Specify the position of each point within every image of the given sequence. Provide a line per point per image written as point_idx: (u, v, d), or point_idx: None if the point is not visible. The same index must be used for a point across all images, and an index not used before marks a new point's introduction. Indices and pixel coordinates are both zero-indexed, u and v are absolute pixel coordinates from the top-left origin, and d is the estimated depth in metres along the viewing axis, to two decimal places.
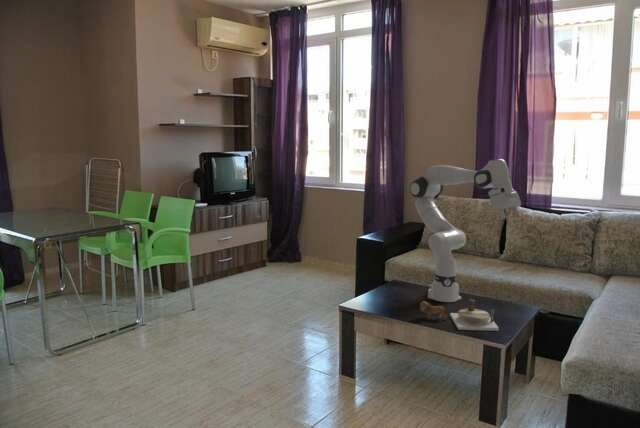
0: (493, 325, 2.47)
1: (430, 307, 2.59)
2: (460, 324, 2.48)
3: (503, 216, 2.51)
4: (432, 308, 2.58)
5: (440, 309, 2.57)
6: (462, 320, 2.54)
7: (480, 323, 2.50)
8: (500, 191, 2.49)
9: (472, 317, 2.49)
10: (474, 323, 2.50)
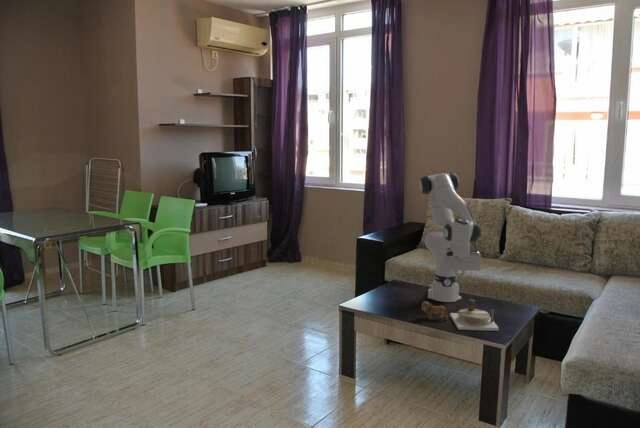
0: (493, 325, 2.47)
1: (431, 307, 2.58)
2: (460, 324, 2.48)
3: (456, 277, 2.57)
4: (433, 308, 2.58)
5: (441, 309, 2.57)
6: (462, 320, 2.54)
7: (480, 323, 2.50)
8: (446, 254, 2.52)
9: (472, 317, 2.49)
10: (474, 323, 2.50)
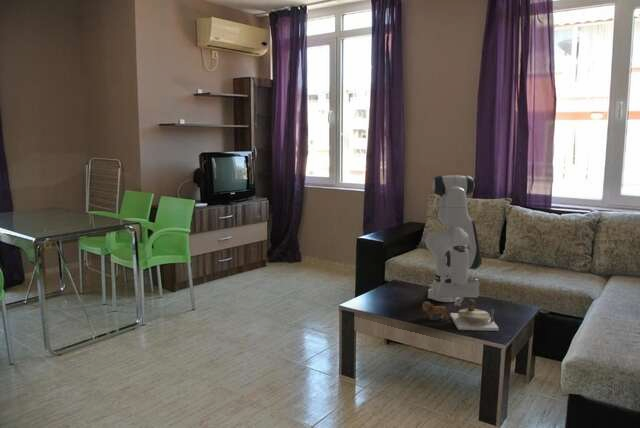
0: (493, 325, 2.47)
1: (432, 307, 2.58)
2: (460, 324, 2.48)
3: (454, 303, 2.58)
4: (434, 308, 2.58)
5: (442, 309, 2.57)
6: (462, 320, 2.54)
7: (480, 323, 2.50)
8: (444, 281, 2.54)
9: (472, 317, 2.49)
10: (474, 323, 2.50)
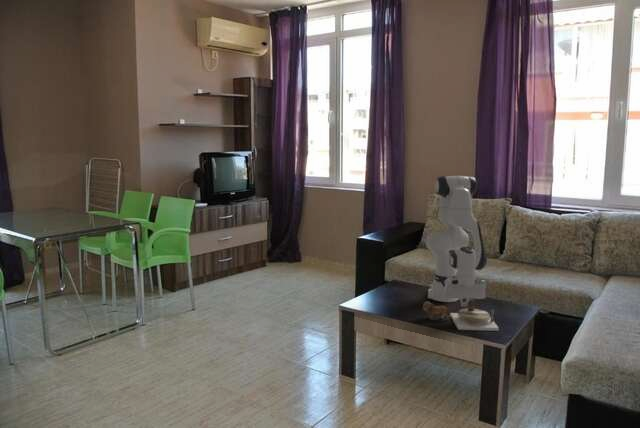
0: (493, 325, 2.47)
1: (433, 307, 2.58)
2: (460, 324, 2.48)
3: (461, 304, 2.59)
4: (435, 308, 2.58)
5: (443, 309, 2.57)
6: (462, 320, 2.54)
7: (480, 323, 2.50)
8: (451, 282, 2.54)
9: (472, 317, 2.49)
10: (474, 323, 2.50)
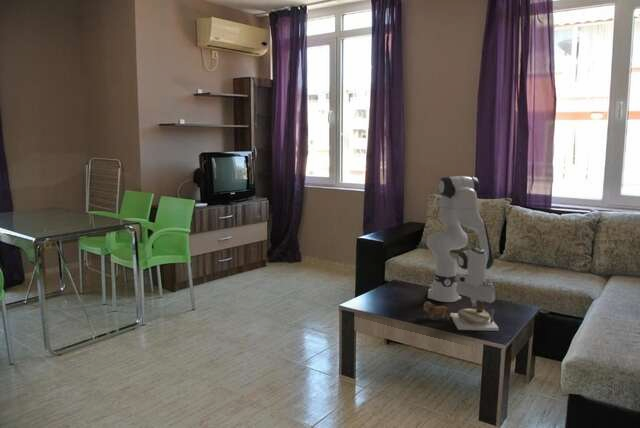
0: (493, 325, 2.47)
1: (433, 307, 2.58)
2: (460, 324, 2.48)
3: None
4: (435, 308, 2.58)
5: (443, 309, 2.57)
6: (462, 320, 2.54)
7: (480, 323, 2.50)
8: (459, 279, 2.61)
9: (465, 315, 2.52)
10: (474, 323, 2.50)
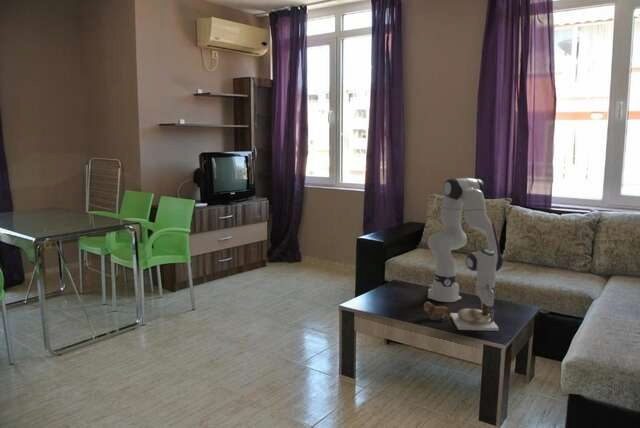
0: (493, 325, 2.47)
1: (433, 307, 2.58)
2: (460, 324, 2.48)
3: None
4: (435, 308, 2.58)
5: (443, 309, 2.57)
6: (462, 320, 2.54)
7: (480, 323, 2.50)
8: (475, 279, 2.62)
9: (463, 312, 2.56)
10: (474, 323, 2.50)
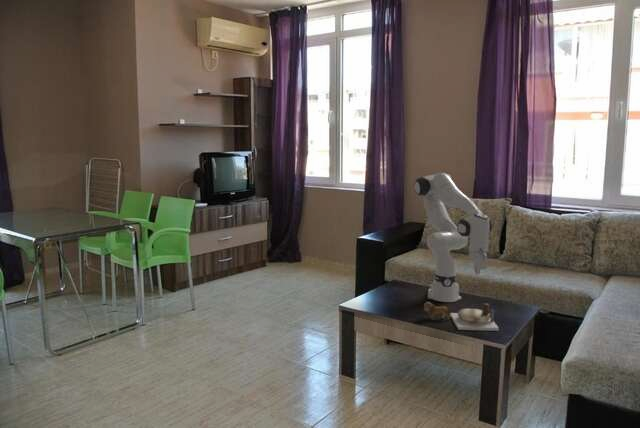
0: (493, 325, 2.47)
1: (434, 307, 2.58)
2: (460, 324, 2.48)
3: None
4: (436, 308, 2.58)
5: (444, 309, 2.57)
6: (462, 320, 2.54)
7: (480, 323, 2.50)
8: (468, 244, 2.63)
9: (463, 312, 2.56)
10: (474, 323, 2.50)
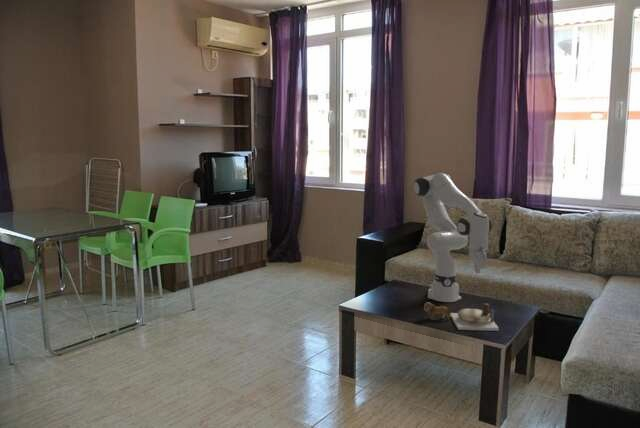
0: (493, 325, 2.47)
1: (434, 308, 2.58)
2: (460, 324, 2.48)
3: None
4: (436, 309, 2.58)
5: (444, 309, 2.57)
6: (462, 320, 2.54)
7: (480, 323, 2.50)
8: (468, 243, 2.63)
9: (463, 312, 2.56)
10: (474, 323, 2.50)
